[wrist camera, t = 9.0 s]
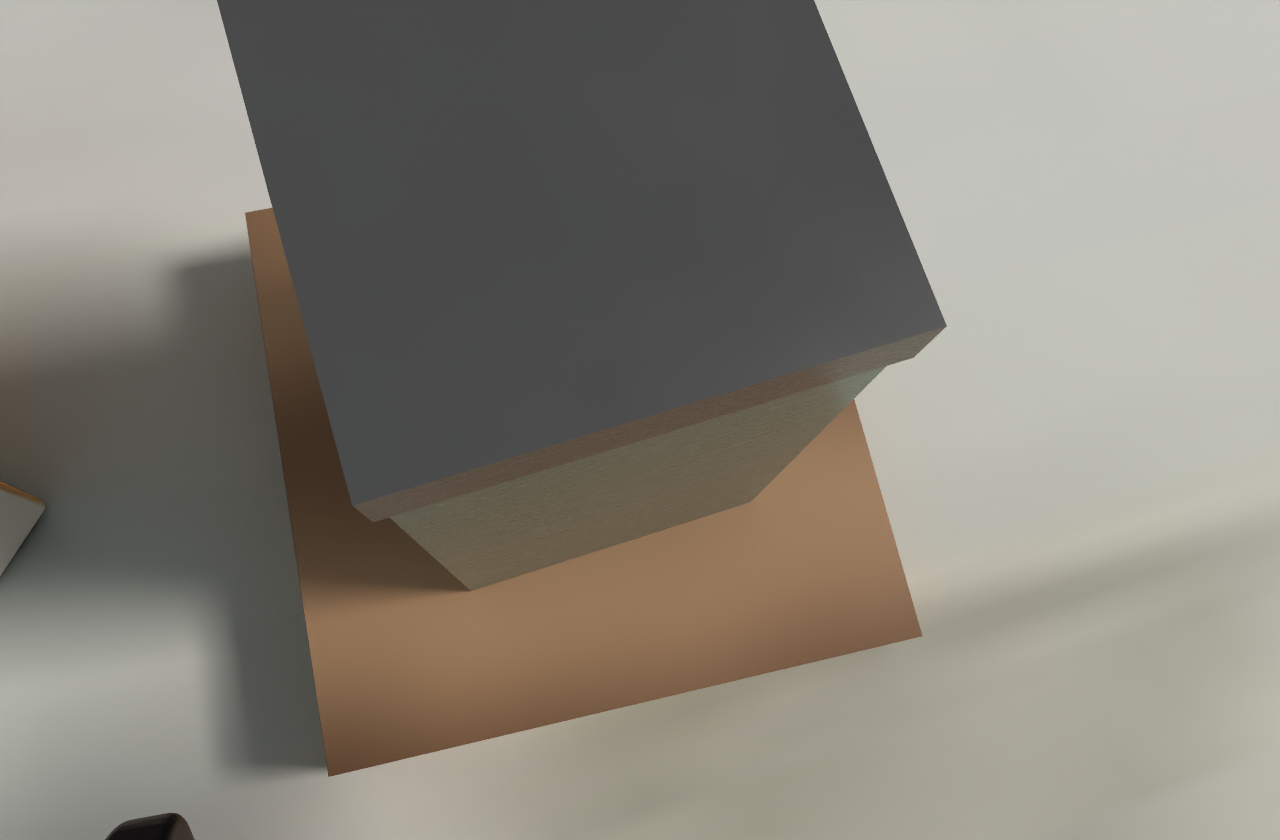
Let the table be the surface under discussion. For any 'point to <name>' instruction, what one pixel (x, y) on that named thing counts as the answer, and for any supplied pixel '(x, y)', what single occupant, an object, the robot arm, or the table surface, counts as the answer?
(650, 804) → the table surface
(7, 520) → the small box
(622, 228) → the tea tin
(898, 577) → the walnut block
